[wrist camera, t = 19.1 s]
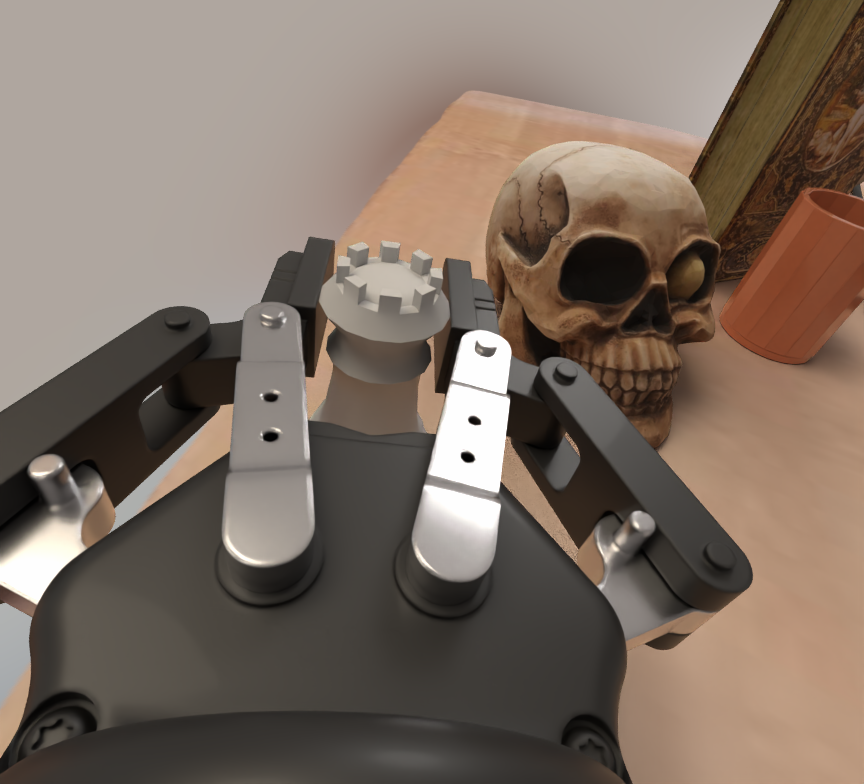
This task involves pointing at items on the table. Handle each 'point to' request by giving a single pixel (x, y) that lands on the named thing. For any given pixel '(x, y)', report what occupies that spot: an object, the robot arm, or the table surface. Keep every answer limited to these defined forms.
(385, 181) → the table surface
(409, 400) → the rook chess piece
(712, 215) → the book
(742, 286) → the pen pot
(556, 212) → the coin bank
